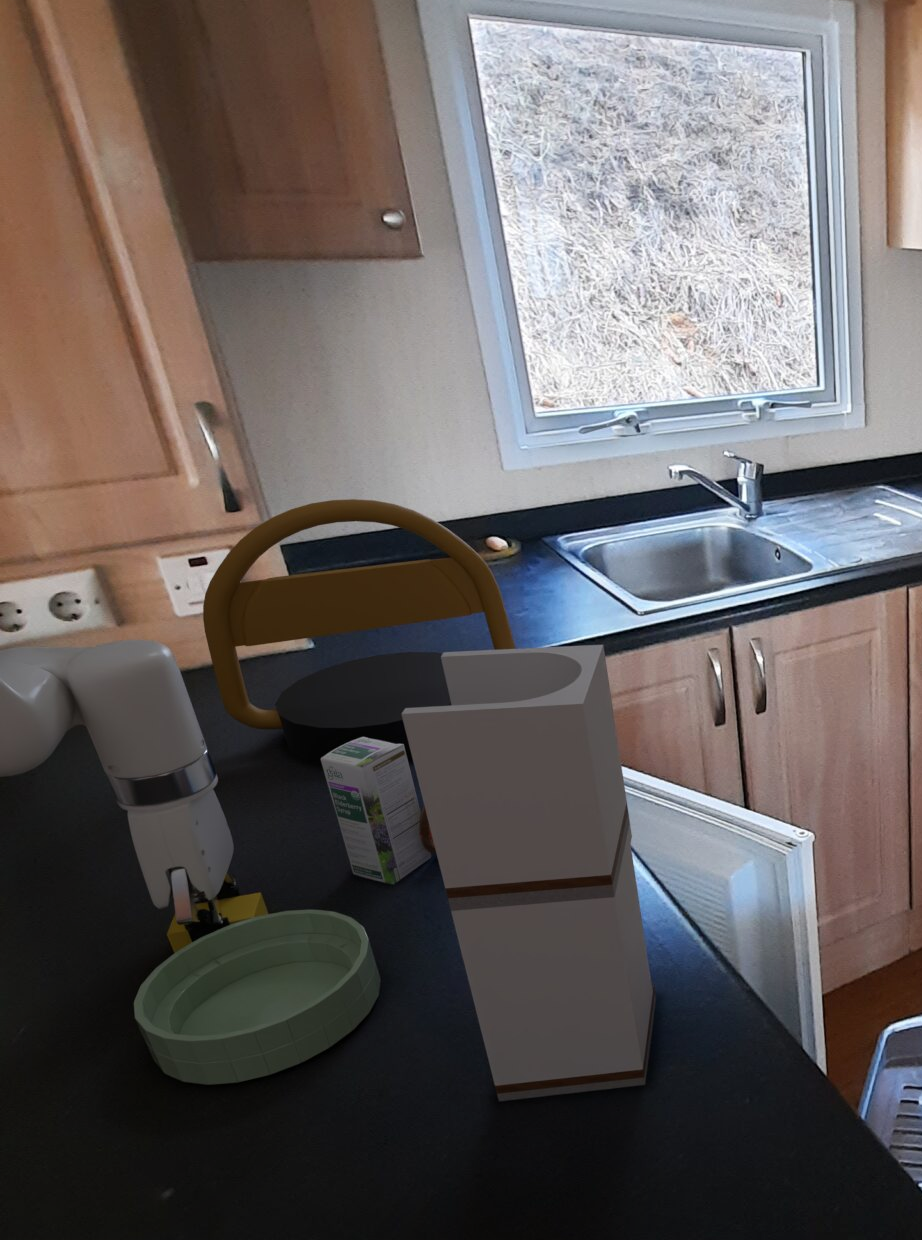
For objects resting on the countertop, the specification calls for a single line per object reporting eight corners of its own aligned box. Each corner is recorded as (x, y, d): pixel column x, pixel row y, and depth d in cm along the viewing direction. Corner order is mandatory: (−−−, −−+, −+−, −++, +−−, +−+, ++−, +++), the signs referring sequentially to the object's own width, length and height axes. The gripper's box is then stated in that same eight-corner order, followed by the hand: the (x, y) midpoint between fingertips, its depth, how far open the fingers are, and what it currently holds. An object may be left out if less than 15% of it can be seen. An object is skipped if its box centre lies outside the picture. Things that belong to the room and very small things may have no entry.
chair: (539, 739, 141) (495, 507, 127) (234, 797, 126) (145, 543, 112) (515, 673, 161) (474, 465, 146) (248, 716, 146) (174, 491, 132)
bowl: (131, 1116, 83) (107, 1064, 80) (181, 981, 97) (162, 934, 94) (374, 1058, 89) (358, 1008, 86) (388, 939, 103) (375, 893, 100)
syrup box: (351, 877, 112) (315, 758, 106) (394, 848, 117) (362, 733, 111) (394, 887, 111) (360, 767, 104) (435, 858, 116) (405, 741, 109)
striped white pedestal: (656, 1001, 96) (603, 644, 80) (645, 1088, 86) (583, 703, 70) (525, 1014, 94) (443, 652, 78) (499, 1104, 84) (401, 713, 68)
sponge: (178, 963, 99) (166, 934, 98) (189, 936, 103) (177, 907, 101) (263, 946, 102) (253, 917, 100) (271, 920, 105) (261, 891, 104)
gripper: (138, 743, 100) (199, 900, 108) (83, 831, 86) (158, 1004, 94) (230, 730, 102) (282, 885, 110) (191, 814, 88) (255, 984, 97)
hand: (224, 938), depth 102 cm, fingers closed on sponge, 4 cm apart
